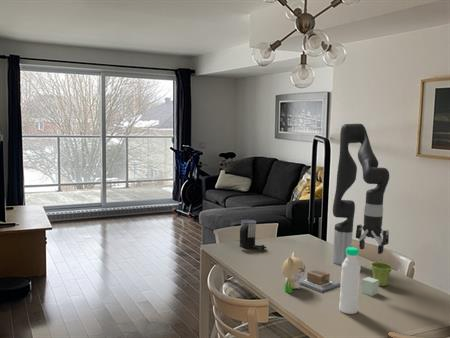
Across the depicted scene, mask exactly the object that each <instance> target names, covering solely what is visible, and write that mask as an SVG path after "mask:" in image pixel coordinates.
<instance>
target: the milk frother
mask: <svg viewBox="0 0 450 338" xmlns="http://www.w3.org/2000/svg"><path fill="white" fill-rule="evenodd" d="M256 228H257V221H256V220H254V219H241V220H240V229H239V247H241V248H245V249H253V248H257V249H260V250H262V251H264V250H265V249H267V246H265V245H264V244H261V245H260V244H259V245H257V244H256V231H257V230H256Z"/></svg>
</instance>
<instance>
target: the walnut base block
mask: <svg viewBox="0 0 450 338" xmlns="http://www.w3.org/2000/svg"><path fill="white" fill-rule="evenodd" d="M306 277H307V281H308V282H311V283H314V284H317V285H319V286H320V285H323V284H326V283H329V279H330V273H329V272H326V271H323V270H320V269H314V270H310V271H308V272H307V276H306Z"/></svg>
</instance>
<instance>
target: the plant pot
mask: <svg viewBox="0 0 450 338" xmlns="http://www.w3.org/2000/svg"><path fill="white" fill-rule="evenodd" d="M370 266H371V271H372V278H374V279H377V280H379V286H380V287H384V286H388V283H389V278H390V273H391V271H392V270H393V266H392V265H391V264H388V263H384V262H371V263H370Z"/></svg>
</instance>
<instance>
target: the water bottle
mask: <svg viewBox="0 0 450 338" xmlns="http://www.w3.org/2000/svg"><path fill="white" fill-rule="evenodd" d="M346 255H347V257H346V258H345V260H344V262H343V264H342V265H341V274H340V293H339V304H338V309H339V311H340V312H341V313H344V314H345V315H346V314H348V315H353V314H356V313H357V312H358V311H359V303H358V302H359V297H360V296H359V291H360V284H361V281H360V280H361V269H362V268H361V267H362V266H361V263H360V262H359V260H358V256H359V249H358V248H356V247H354V246H352V247H348V248H346Z"/></svg>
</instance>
